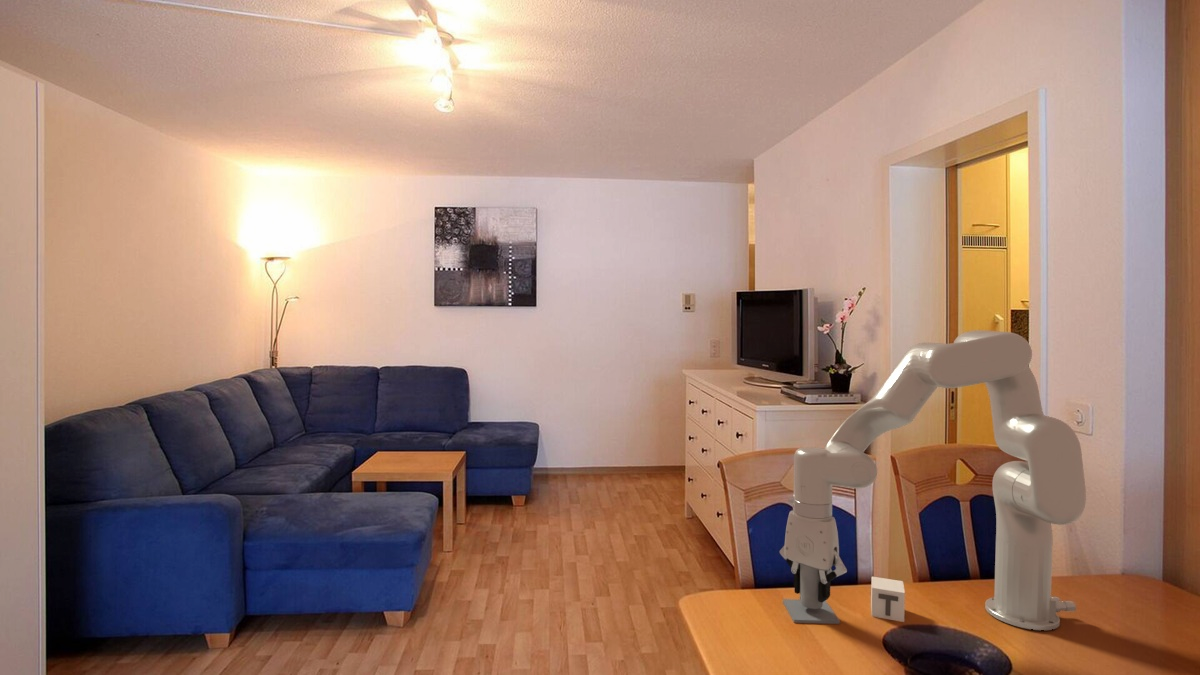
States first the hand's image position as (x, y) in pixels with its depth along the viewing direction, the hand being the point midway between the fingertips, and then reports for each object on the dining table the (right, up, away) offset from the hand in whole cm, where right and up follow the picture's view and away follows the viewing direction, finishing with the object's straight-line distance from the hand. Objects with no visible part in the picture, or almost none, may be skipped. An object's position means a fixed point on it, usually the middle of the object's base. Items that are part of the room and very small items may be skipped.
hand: (811, 594), depth 127 cm
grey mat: (0, -4, 0) cm, 4 cm away
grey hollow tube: (0, -2, 0) cm, 2 cm away
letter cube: (+16, -4, 0) cm, 16 cm away
